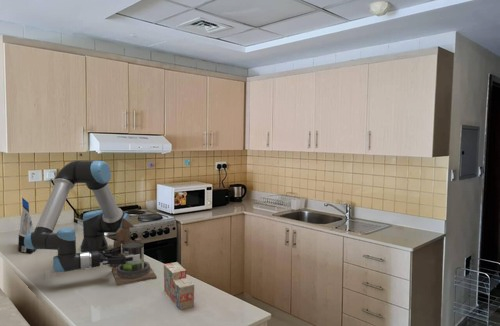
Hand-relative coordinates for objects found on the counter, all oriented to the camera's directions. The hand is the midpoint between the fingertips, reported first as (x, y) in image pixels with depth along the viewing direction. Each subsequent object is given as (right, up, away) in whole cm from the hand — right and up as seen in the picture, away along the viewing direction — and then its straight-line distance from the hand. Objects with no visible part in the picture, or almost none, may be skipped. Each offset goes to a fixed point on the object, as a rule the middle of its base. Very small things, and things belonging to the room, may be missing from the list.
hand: (137, 253), depth 183 cm
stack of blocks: (+26, -13, -26) cm, 39 cm away
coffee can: (-1, -10, -1) cm, 10 cm away
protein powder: (-78, -8, +40) cm, 88 cm away
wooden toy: (-11, -10, +16) cm, 21 cm away
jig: (-2, -11, 0) cm, 11 cm away
